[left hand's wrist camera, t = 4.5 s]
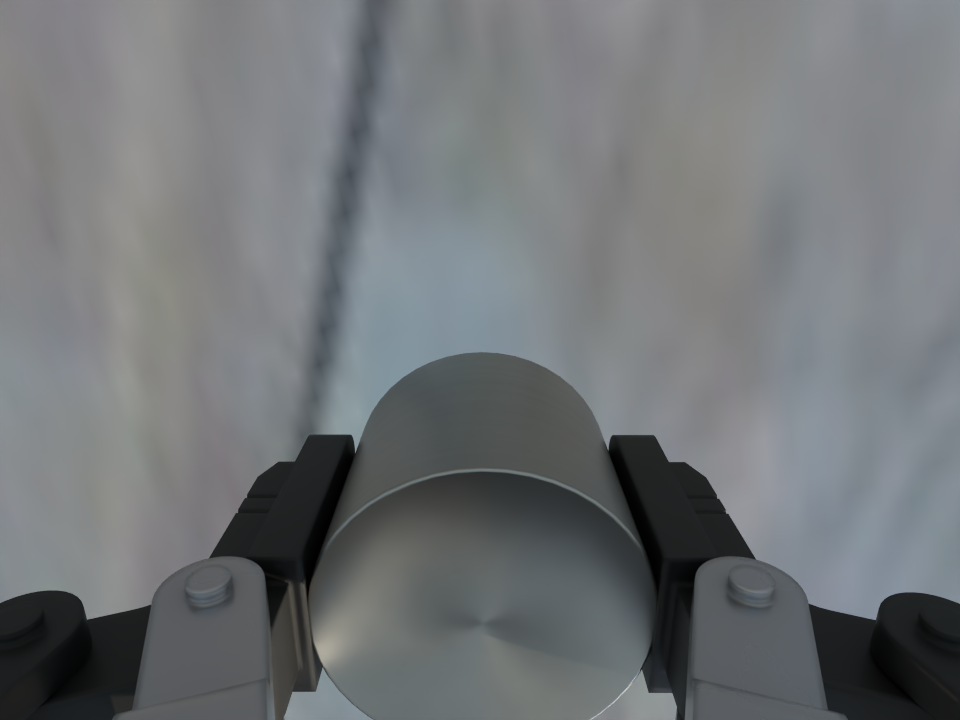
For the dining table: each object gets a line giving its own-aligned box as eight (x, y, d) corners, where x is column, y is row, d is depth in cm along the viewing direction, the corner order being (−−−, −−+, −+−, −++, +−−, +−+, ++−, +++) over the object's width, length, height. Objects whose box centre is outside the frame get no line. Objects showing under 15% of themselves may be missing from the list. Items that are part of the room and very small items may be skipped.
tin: (594, 335, 12) (650, 446, 8) (613, 553, 13) (667, 734, 9) (335, 369, 12) (266, 494, 8) (384, 580, 14) (347, 767, 10)
